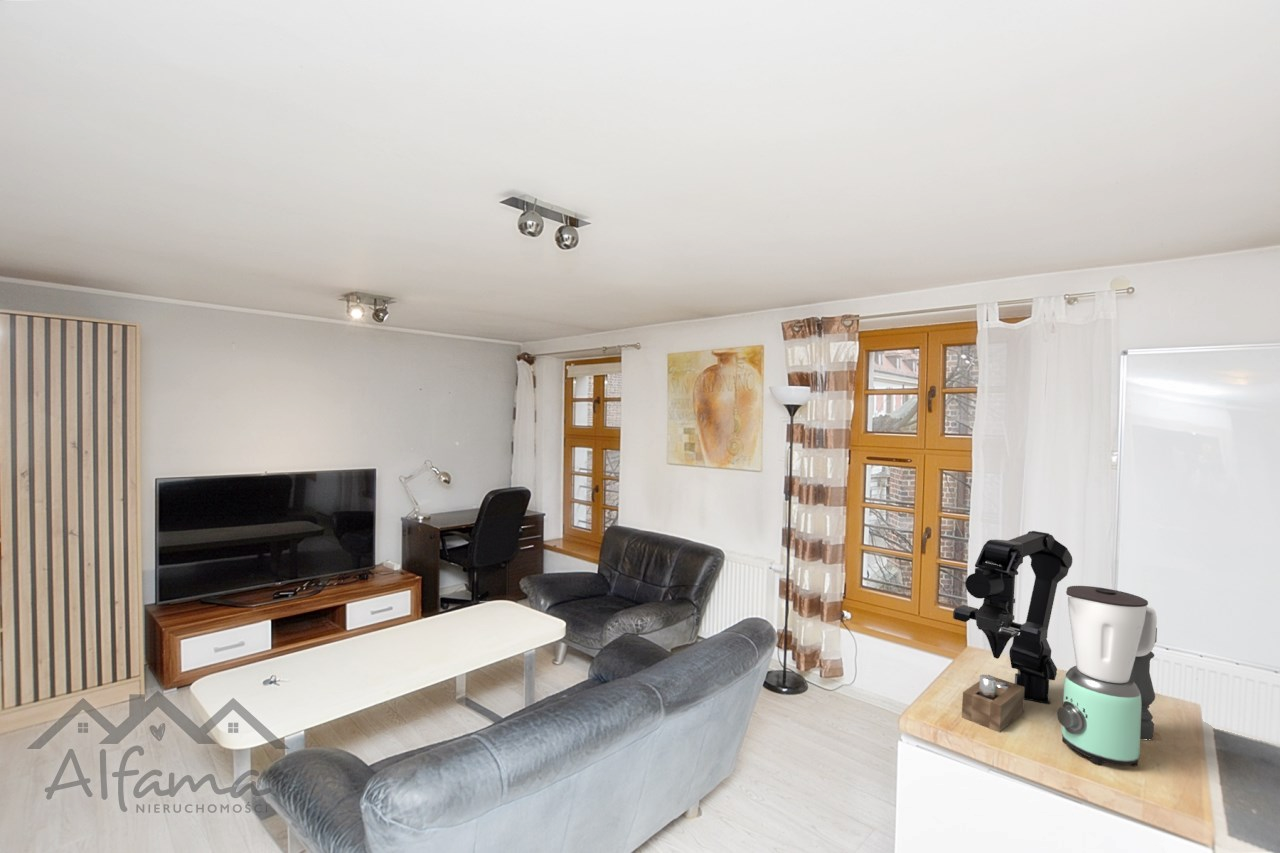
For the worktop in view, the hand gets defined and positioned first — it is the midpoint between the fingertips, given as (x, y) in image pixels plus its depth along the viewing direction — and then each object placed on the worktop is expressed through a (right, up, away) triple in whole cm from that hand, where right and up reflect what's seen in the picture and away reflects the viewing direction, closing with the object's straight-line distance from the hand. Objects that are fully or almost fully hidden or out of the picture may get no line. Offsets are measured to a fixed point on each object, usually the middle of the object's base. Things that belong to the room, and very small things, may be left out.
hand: (996, 657), depth 138 cm
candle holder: (+28, -15, -7) cm, 32 cm away
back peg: (+2, -13, +2) cm, 14 cm away
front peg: (-4, -9, -3) cm, 11 cm away
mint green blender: (+13, -14, -16) cm, 25 cm away
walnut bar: (-1, -13, -1) cm, 13 cm away
